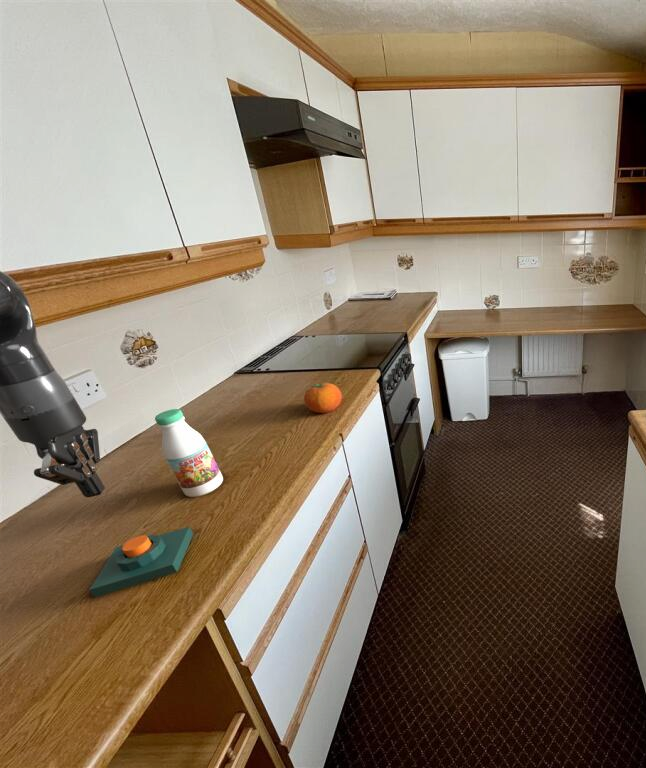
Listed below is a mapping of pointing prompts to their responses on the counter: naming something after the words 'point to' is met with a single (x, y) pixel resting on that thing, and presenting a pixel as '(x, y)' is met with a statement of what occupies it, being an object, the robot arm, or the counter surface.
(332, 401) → the fruit
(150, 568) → the cap housing
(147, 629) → the counter surface
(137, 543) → the orange push button
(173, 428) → the milk bottle
